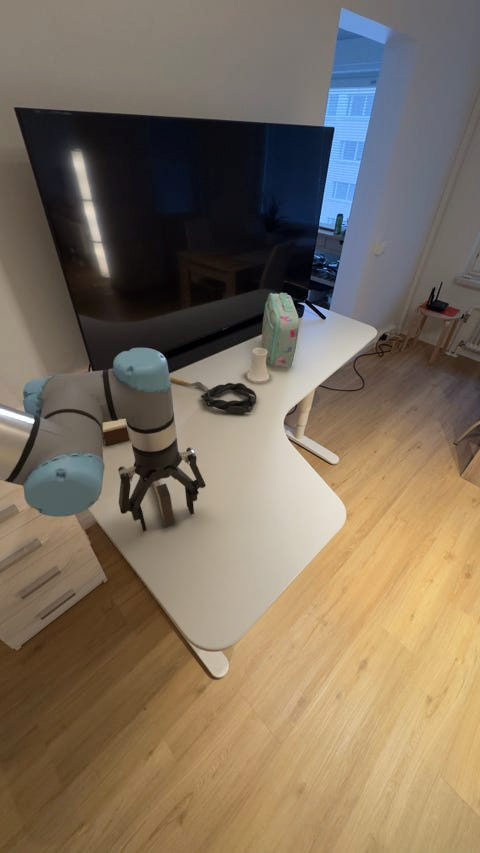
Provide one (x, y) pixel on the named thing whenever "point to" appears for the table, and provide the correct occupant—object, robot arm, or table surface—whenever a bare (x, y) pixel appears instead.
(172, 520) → the long brown beam
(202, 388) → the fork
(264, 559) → the table surface
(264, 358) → the vase
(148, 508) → the table surface
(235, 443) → the table surface
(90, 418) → the robot arm
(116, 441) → the cake
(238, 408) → the cable
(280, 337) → the lunch box
